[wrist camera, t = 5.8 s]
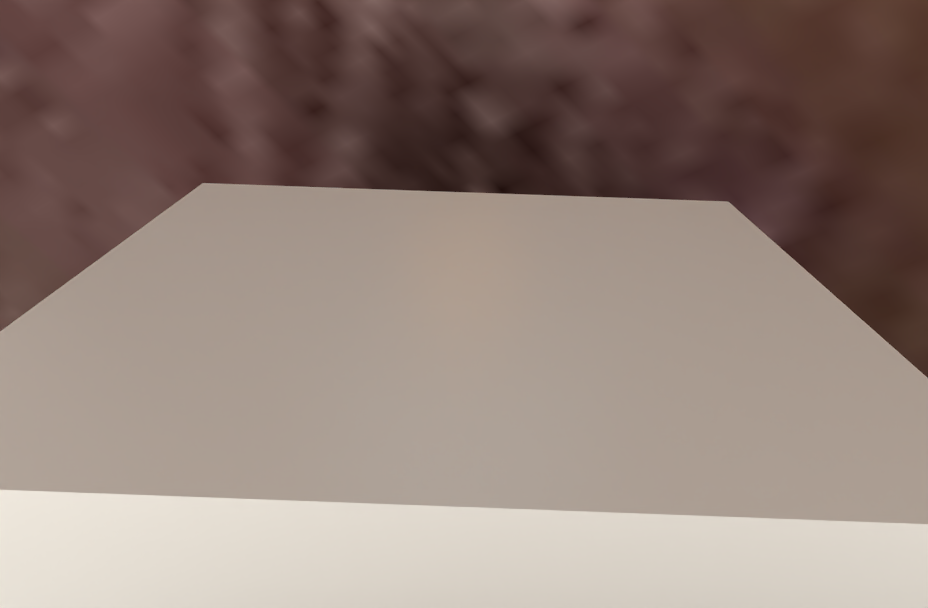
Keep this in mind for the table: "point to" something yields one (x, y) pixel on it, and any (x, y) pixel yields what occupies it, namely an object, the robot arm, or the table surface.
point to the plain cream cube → (456, 414)
